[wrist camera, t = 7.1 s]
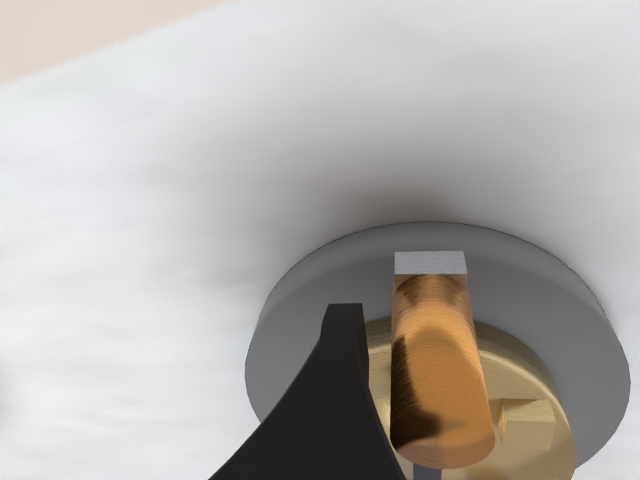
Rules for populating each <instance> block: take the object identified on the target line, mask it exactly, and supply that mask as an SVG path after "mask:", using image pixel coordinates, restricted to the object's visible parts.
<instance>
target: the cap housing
mask: <svg viewBox="0 0 640 480" xmlns="http://www.w3.org/2000/svg"><path fill="white" fill-rule="evenodd" d="M419 251H463V253H464V258H465V263H466V268H467V273H468V274H467V290H468V296H469V301H470V306H471V312H472V317H473V321H477V322H480V323H483V324H486V325H489V326H491V327H494V328H497V329H499V330H501V331H503V332H505V333H507V334H509V335H511V336H513V337H515V338H516V339H518V340H519V341H521V342H522V343H523V344H525V345H526V346H528V347H529V348H530V349H531V350H532V351H533V352H534V353H535V354H537V355H538V356H539V358H540V359H541V360H542V361H543V363H544V364H545V365H546V366H547V368H548V370H549V372H550V374H551V375H552V377H553V380H554V383H555V386H556V389H557V392H558V395H559V398H560V401H561V404H562V406H563V409H564V412H565V415H566V418H567V421H568V424H569V427H570V430H571V433H572V436H573V439H574V443H575V446H576V454H577V461H576V466H575V469H576V468H578V467H579V466H580V465H582V464H583V463H585V462H586V461H588V460H589V459H590V458H591V457H592V456H594V455H595V454H596V453H597V452H598V451H599V450H600V449H601V448H602V447H603V446H604V445H605V444H606V443H607V442H608V440H609V439H610V438H611V437H612V435H613V434H614V433H615V431H616V430H617V428H618V426H619V424H620V422H621V421H622V419H623V417H624V414H625V411H626V408H627V405H628V402H629V394H630V384H631V381H630V373H629V365H628V362H627V359H626V357H625V354H624V351H623V348H622V346H621V344H620V342H619V340H618V338H617V336H616V334H615V332H614V330H613V329H612V327H611V325H610V323H609V321H608V319H607V317H606V315H605V313H604V311H603V310H602V308H601V306H600V304H599V303H598V301H597V299H596V298H595V296H594V294H593V293H592V291H591V290H590V289H589V287H588V286H587V285H586V284H585V283H584V282H583V281H582V279H581V278H580V277H579V276H578V275H577V274H576V273H575V272H574V271H572V270H571V269H570V268H569V267H567V266H566V265H565V264H564V263H563V262H561V261H560V260H559V259H557V258H556V257H554V256H552V255H551V254H549V253H547V252H546V251H544V250H542V249H541V248H539V247H537V246H535V245H533V244H531V243H528V242H526V241H524V240H521V239H519V238H517V237H514V236H512V235H508V234H505V233H502V232H498V231H495V230H491V229H488V228H483V227H477V226H472V225H466V224H460V223H445V222H412V223H400V224H393V225H387V226H381V227H375V228H372V229H368V230H364V231H361V232H357V233H354V234H350V235H348V236H346V237H343V238H341V239H338V240H336V241H333V242H331V243H329V244H327V245H325V246H323V247H322V248H320V249H318V250H316V251H315V252H313V253H311V254H309V255H308V256H307V257H305V258H304V259H303V260H301V261H300V262H299V263H297V264H296V265H295V266H294V267H292V268H291V269H290V270H289V271H288V272H287V273H286V274H285V276H284V277H283V278H282V279H281V280H280V281H279V282H278V283H277V285H276V286H275V288H274V289H273V291H272V292H271V293H270V295H269V296H268V298H267V301H266V303H265V305H264V307H263V309H262V312H261V314H260V317H259V320H258V323H257V326H256V328H255V331H254V334H253V337H252V340H251V343H250V346H249V349H248V354H247V358H246V362H245V382H246V388H247V394H248V397H249V400H250V402H251V405H252V408H253V410H254V412H255V414H256V415H257V417H258V419H259V421H260V422H261V423H262V422H263V420H264V419H265V418H266V417H267V416H268V414H269V413H270V412H271V410H272V409H273V408H274V407H275V405H276V404H277V403H278V401H279V400H280V399H281V397H282V396H283V394H284V393H285V392H286V390H287V389H288V387H289V386H290V384H291V383H292V381H293V380H294V378H295V377H296V375H297V374H298V373H299V371H300V369H301V368H302V366H303V365H304V363H305V361H306V360H307V358H308V356H309V355H310V353H311V351H312V350H313V348H314V346H315V345H316V343H317V341H318V339H319V337H320V333H321V325H322V321H323V318H324V315H325V312H326V309H327V306H328V304H338V303H362V306H363V314H364V322H365V323H368V322H371V321H375V320H379V319H383V318H387V317H392V288H393V284H394V281H395V252H419Z"/></svg>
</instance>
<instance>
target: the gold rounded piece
mask: <svg viewBox="0 0 640 480" xmlns="http://www.w3.org/2000/svg"><path fill="white" fill-rule="evenodd" d="M467 274H468V273H467V268H466V263H465V258H464V253H463V251H419V252H395V281H394V284H393V288H392V317H387V318H383V319H379V320H375V321H371V322H368V323H365V329H366V337H367V345H368V353H369V389H370V392H371V395H372V398H373V401H374V404H375V407H376V410H377V412H378V415H379V418H380V420H381V423H382V425H383V428H384V430H385V433H386V435H387V438H388V440H389V442H390V445H391V447H392V450H393V452H394V454H395V456H396V459H397V461H398V463H399V465H400V467H401V469H402V471H403V473H404V475H405V477H406V479H407V480H571V478H572V475H573V473H574V471H575V466H576V461H577V454H576V446H575V443H574V439H573V436H572V433H571V430H570V427H569V424H568V421H567V418H566V415H565V412H564V409H563V406H562V404H561V401H560V398H559V395H558V392H557V389H556V386H555V383H554V380H553V377H552V375H551V374H550V372H549V370H548V368H547V366H546V365H545V364H544V363H543V361H542V360H541V359H540V358H539V356H538V355H537V354H535V353H534V352H533V351H532V350H531V349H530V348H529V347H528V346H526V345H525V344H523V343H522V342H521V341H519V340H518V339H516V338H515V337H513V336H511V335H509V334H507V333H505V332H503V331H501V330H499V329H497V328H494V327H491V326H489V325H486V324H483V323H480V322H477V321H473V317H472V312H471V306H470V301H469V296H468V290H467Z"/></svg>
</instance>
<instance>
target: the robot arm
mask: <svg viewBox="0 0 640 480" xmlns="http://www.w3.org/2000/svg"><path fill="white" fill-rule="evenodd" d="M208 480H407V479H406V477H405V475H404V473H403V471H402V469H401V467H400V465H399V463H398V461H397V459H396V456H395V454H394V452H393V450H392V447H391V445H390V442H389V440H388V438H387V435H386V433H385V430H384V428H383V425H382V423H381V420H380V418H379V415H378V412H377V410H376V407H375V404H374V401H373V398H372V395H371V392H370V389H369V353H368V345H367V337H366V329H365V322H364V314H363V306H362V303H338V304H328V306H327V309H326V312H325V315H324V318H323V321H322V325H321V333H320V337H319V339H318V341H317V343H316V345H315V346H314V348H313V350H312V351H311V353H310V355H309V356H308V358H307V360H306V361H305V363H304V365H303V366H302V368H301V369H300V371H299V373H298V374H297V375H296V377H295V378H294V380H293V381H292V383H291V384H290V386H289V387H288V389H287V390H286V392H285V393H284V394H283V396H282V397H281V399H280V400H279V401H278V403H277V404H276V405H275V407H274V408H273V409H272V410H271V412H270V413H269V414H268V416H267V417H266V418H265V419H264V420H263V422H262V423H261V424H260V425H259V427H258V428H257V429H256V430H255V431H254V432H253V433H252V435H251V436H250V437H249V438H248V439H247V440H246V441H245V442H244V444H243V445H242V446H241V447H240V448H239V449H238V450H237V451H236V452H235V453H234V455H233V456H232V457H231V458H230V459H229V460H228V461H227V462H226V463H225V464H224V465H223V466H222V467H221V468H220V469H219V470H218V471H217V472H216V473H215V474H213V475H212V476H211V477H210V478H209V479H208Z"/></svg>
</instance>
